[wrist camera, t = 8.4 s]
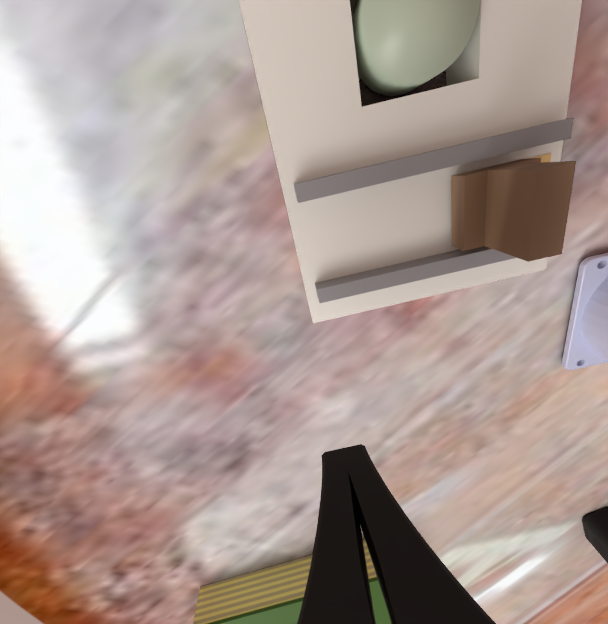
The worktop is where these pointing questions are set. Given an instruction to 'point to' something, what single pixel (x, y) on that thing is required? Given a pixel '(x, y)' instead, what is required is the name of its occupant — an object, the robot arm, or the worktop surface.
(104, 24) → the worktop surface
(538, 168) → the walnut slider
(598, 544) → the walkie-talkie
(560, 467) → the worktop surface
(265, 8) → the control panel
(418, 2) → the sage button
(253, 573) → the hardcover book
